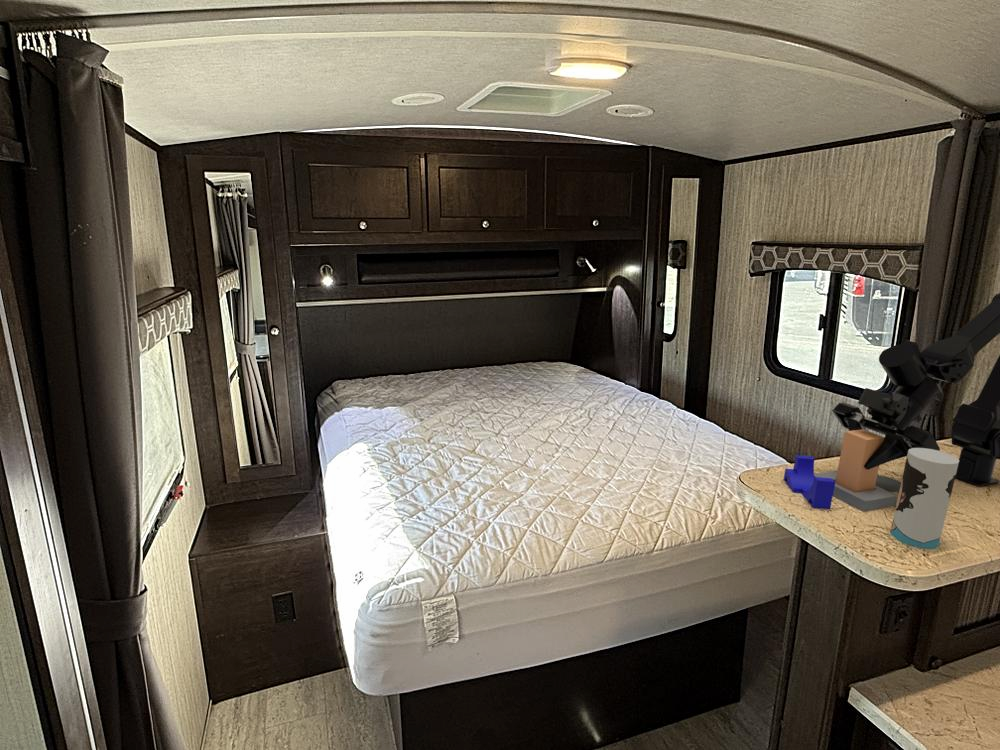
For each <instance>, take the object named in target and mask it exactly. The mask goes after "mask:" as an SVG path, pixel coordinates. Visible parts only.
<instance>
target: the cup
mask: <svg viewBox="0 0 1000 750" xmlns="http://www.w3.org/2000/svg"><path fill="white" fill-rule="evenodd" d="M904 464H905V465H904V468H903V473H902V478H901V481H900V482H901V486H900V491H899V492H898V494H897V501H896V505H895V510H894V514H893V518H892V524H891V527H890V534H891V536H892V537H893V538H894V539H896V540H898V541H899V542H900V543H904V544H906V545H908V546H911V547H913V548H919V549H924V550H925V549H927V550H932V549H936V548H938V547H939V546H940V542H941V541H940V540H941V537H942V533H943V528H944V525H945V521H946V518H947V517H946V516H947V512H948V508H949V504H950V501H951V498H952V497H951V496H952V492H953V489H954V483H955V480H956V477H955V476H956V472H957V468H958V464H959V457H956V456H954V455H952V454H951V453H948V452H944V451H941V450H940V451H937V450H933V449H927V448H911V449H909V450H908V454H907V456H906V460H905V463H904Z"/></svg>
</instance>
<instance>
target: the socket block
mask: <svg viewBox="0 0 1000 750" xmlns="http://www.w3.org/2000/svg"><path fill="white" fill-rule="evenodd" d="M836 475H837V470H832V471H825V472H819V473H814V477H821V478H832V479H833V480H834V481H836ZM833 498H836V499H838V500H839V501H841V502H843V503H845V504H848V505H849V506H851V507H852V508H855V509H858V510H859V511H862V512H870V511H874V510H880V509H886V508H887V509H888V508H892V507H896V504H897V500H898V494H896V493H895V494H894V492H888V491H886V490H884V489H882V488H880V487H878V486H875V488H874V490H869V491H863V492H857V493H854V492H852V491H850V490H848V489H846V488H844V487H842V486H840V485H838V484H836V483H835V487H834V492H833Z"/></svg>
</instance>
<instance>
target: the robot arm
mask: <svg viewBox="0 0 1000 750" xmlns="http://www.w3.org/2000/svg"><path fill="white" fill-rule="evenodd" d="M976 314H977V313H976ZM999 334H1000V292H998V293H996V294H995V295H993V297H992V299H991V302H990V303H988V304H987V305H986V306H985V307H984V308H983V309H982V310H981V311H979V312H978V314H977V315H975V316H974V317H972V319H970V320H969V321H968V322H967V323H965V324H964V325H963V327H962V328H960V329H959V330H958V331H956V333H955V334H953V335H952V336H950V337H947V338H943V339H940V340H937V341H934V342H933V343H932V344H930V345H929V346H927V347H925V348H924V349H923V350H921V351H920V348H919V347H920V346H919V345H918V344H917V342H916V341H912V340H904V342H902V343H900V344H895V345H892V346H890V347H887V348H886V349H884V350H882V352H881V353H879V357H878V361H879V364H880V365H881V367H882V368H883V370H884V372H885V373H886V375H887V377H888V378H889V379H890V381H891V383H893V385H895V386H897V387H896V389H895V390H894V391H893V392H892V393H889V392H886V393H884V392H881V391H878V390H876V389H875V390H874V389H871V388H868V387H865V388H864V390H863V393H862V394H861V395H860V396H861V397H860V398H859V399H858V402H857V404H858V405H860V406H861V405H863V406H864V407H866V408H867V409H866V412H867V413H868V415H869V416H871V417H868V416H865V415H864V414H863V412H862V410H861V408H860V407H858V406H856V405H852V404H850V403H847V402H839V403H837V404H836V405H835V407H833V408H832V413H833V414H834V415H835V418H837V420H838V421H839V423H840V425H841V426H842V427H843V428H845V430H846V429H847V431H853V430H862V429H863V430H866V431H869V430H870V431H873V432H877V433H879V434H882V435H884V437H885V438H884V441H883V443H882V444H881V446H880V447H879V448H878V449H877V450H876V451H875V452H874V453H873V455H872V456H871V457H870V458H869V459H868V461H867V462H866V463H865V465H864V467H865V469H867V470H869V469H871V468H874V467H876V466H879V467H880V465H881V466H882V465H883V464H886V463H889V462H891V461H895V460H898V459H902V458H905V457H906V458H907V454H908V450H909V449H911V448H927V449H933V450H937V451H941V449H940V445H939V444H938V442H937V440H936V439H935V437H934V436H933V433H932V432H931V431H929V430H926V429H924V428H923V429H922V428H920V427H917V426H915V425H912V424H913V423H917V424H919V423H920V422H921V421H922V419H923V418H922V416H921V414H922V413H923V411H924V410H925V409H926V408H927V407H928V405H930V404H931V402H932V401H933V400H936V401H938V402H943V400H944V396H945V395H944V393H943V386H941V385H939V384H938V382H937V381H936V380H938V381H942V382H946V383H948V384H949V383H950V384H956V383H959V382H961V380H963V379H964V378H965V377H966V375H967V374H968V373H969V372H970V371H971V370H972V369H973V368H974V366H975V358H976V356H977V354H978V353H979V352H980V351H981V350H982V349H983V348H985V347H986V346H987V345H988V344H989V343H990V342H992V341H993V340H994V339H995V338H996V337H997V336H998V335H999ZM951 421H952V423H951V425H950V435H951V445H952V446H956V447H959V448H961V449H960V454H959V457H958V460H959V464H958V468H957V472H956V476H955V479H959V480H961V481H965V482H967V483H969V484H971V485H974V486H976V487H983V486H988V485H989V486H990V485H996V484H999V483H1000V480H999V479H996V478H995V477H992V476H993V473H994V471H995V470H994V469H995V466H996V463H997V460H1000V354H999V355H998V357H997V359H996V360H995V362H994V365H993V367H992V369H991V371H990V373H989V375H988V376H987V378H986V381H985V382H984V385H983V387H982V388H981V391H980V393H979V395H978V396H977V398H976V399H975V400H973V401H972V402H970V403H969V404H967V403H962V404H961V405H959V407H958V410H957V413H956V414H955V416H954V417H953V419H951Z"/></svg>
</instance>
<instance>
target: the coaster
mask: <svg viewBox="0 0 1000 750" xmlns="http://www.w3.org/2000/svg"><path fill="white" fill-rule="evenodd" d="M875 486H878V487H880V488H882V489H884V490H886V491H888V492H891V493H899V491H900V486H901V481H900V480H899V479H898V480H897V479H895V478H893V477H889V476H884V475H882V474H881V475H880V474H877V479H876V484H875Z"/></svg>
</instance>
